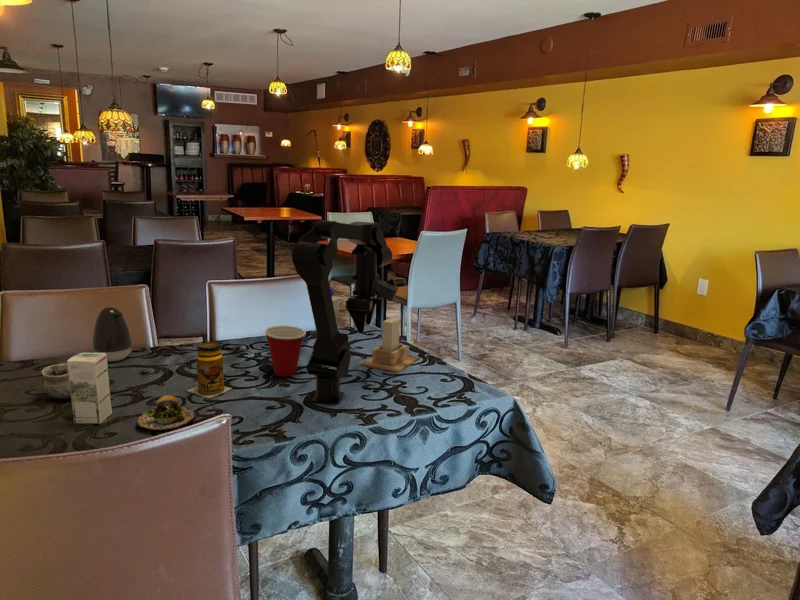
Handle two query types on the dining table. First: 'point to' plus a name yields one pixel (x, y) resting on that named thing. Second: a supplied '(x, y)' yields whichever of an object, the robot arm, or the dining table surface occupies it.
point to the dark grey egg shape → (111, 335)
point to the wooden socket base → (390, 359)
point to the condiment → (209, 371)
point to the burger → (166, 415)
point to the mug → (57, 381)
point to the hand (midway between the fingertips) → (364, 328)
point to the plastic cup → (284, 348)
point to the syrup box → (89, 387)
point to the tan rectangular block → (390, 334)
